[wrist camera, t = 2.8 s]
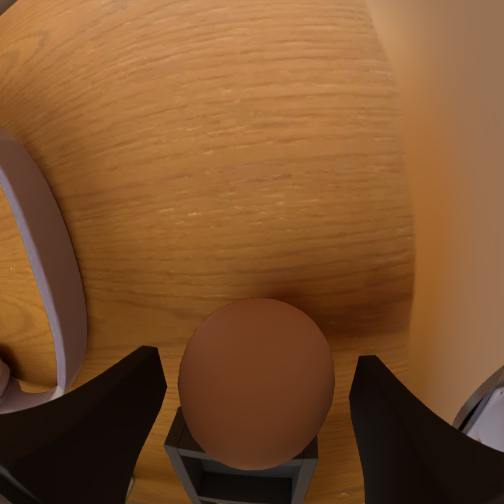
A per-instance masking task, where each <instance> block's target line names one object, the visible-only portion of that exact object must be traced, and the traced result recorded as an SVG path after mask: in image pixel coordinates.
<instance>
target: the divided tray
mask: <svg viewBox="0 0 504 504" xmlns="http://www.w3.org/2000/svg"><path fill="white" fill-rule="evenodd" d="M164 447H165V449H166V452H167V454H168V456H169V458H170V460H171V462H172V465H173V467H174V469H175V471H176V473H177V475H178V477H179V479H180V481H181V483H182V485H183V487H184V489H185V490H186V492H187V494H188V496H189V498H190V500H191V501H192V503H193V504H302V503H303V501H304V498H305V496H306V493H307V490H308V487H309V485H310V482H311V479H312V476H313V473H314V470H315V467H316V464H317V461H318V442H317V434H316V436H315V437H314V438H313V439H312V440H311V442H310V443H309V444H308V445H307V446H306V447H305V448H304V449H303V451H302V452H301V453H299V454H298V455H296V456H295V457H293V458H292V459H290V460H288V461H286V462H284V463H282V464H280V465H278V466H276V467H272V468H268V469H264V470H241V469H237V468H233V467H229V466H227V465H225V464H223V463H221V462H219V461H217V460H216V459H214V458H212V457H211V456H209V455H208V454H207V453H206V452H205V451H204V450H203V449H202V447H201V446H200V445H199V444H198V443H197V442H196V441H195V439H194V438H193V437H192V434H191V432H190V430H189V428H188V426H187V423H186V421H185V419H184V416H183V413H182V409H181V408H180V407H179V408H178V410H177V413H176V416H175V418H174V421H173V423H172V426H171V428H170V431H169V433H168V436H167V438H166V441H165V443H164Z"/></svg>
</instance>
